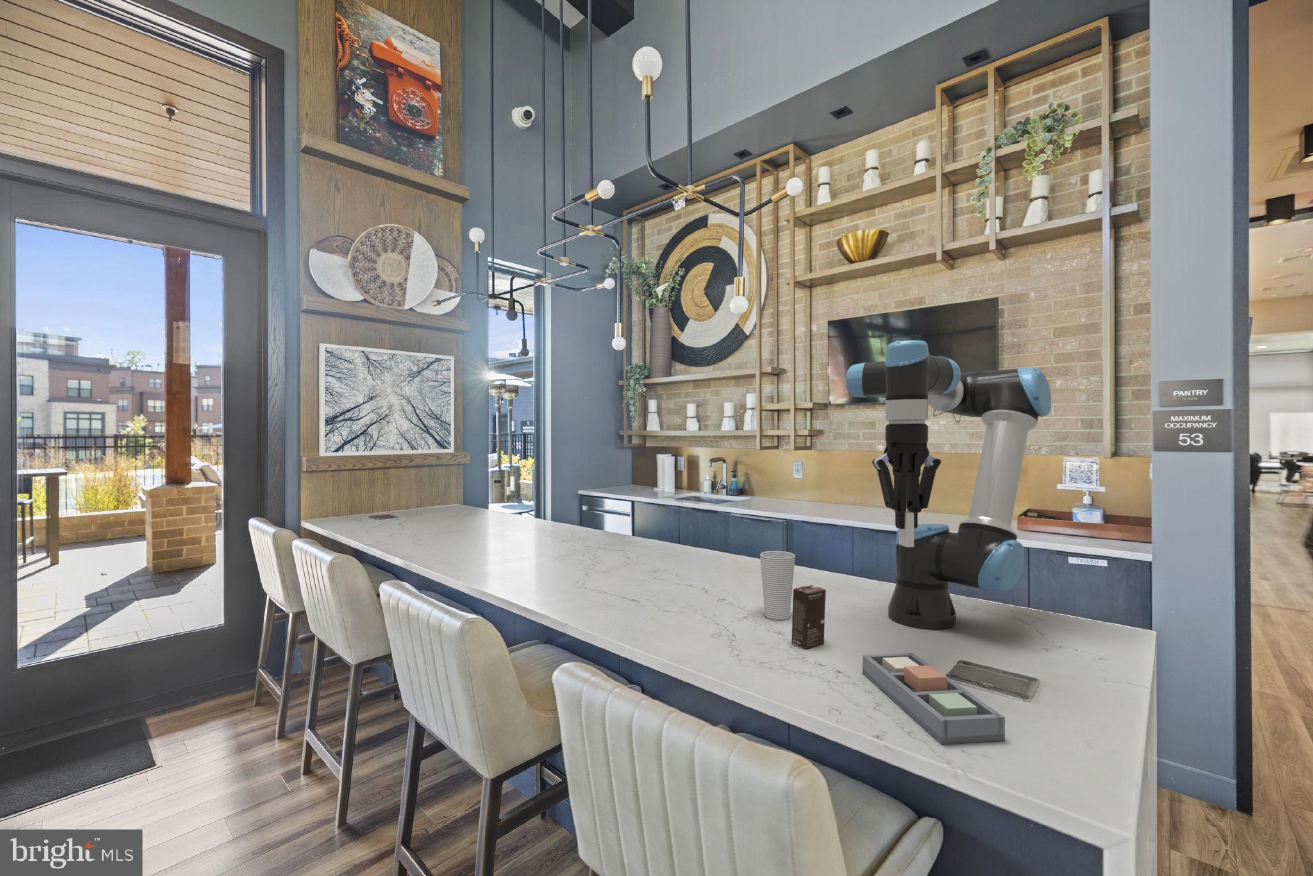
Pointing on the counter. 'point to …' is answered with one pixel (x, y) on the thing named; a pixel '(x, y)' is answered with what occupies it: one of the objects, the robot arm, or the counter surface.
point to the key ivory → (897, 664)
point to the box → (808, 616)
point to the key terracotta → (925, 678)
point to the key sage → (951, 705)
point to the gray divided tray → (916, 705)
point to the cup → (777, 583)
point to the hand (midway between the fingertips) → (906, 545)
